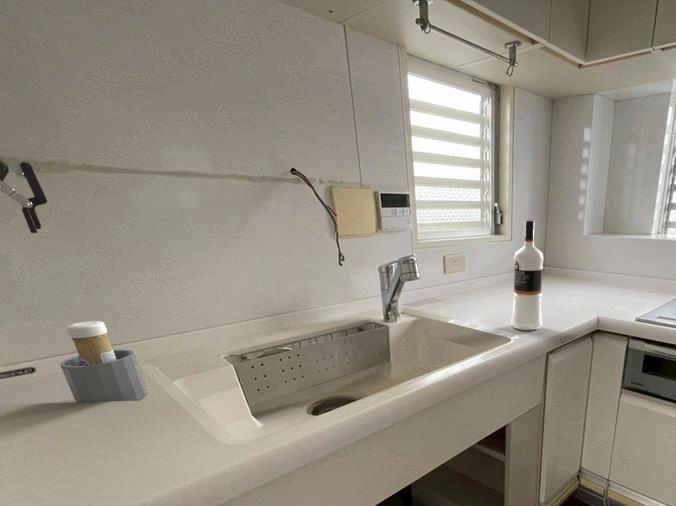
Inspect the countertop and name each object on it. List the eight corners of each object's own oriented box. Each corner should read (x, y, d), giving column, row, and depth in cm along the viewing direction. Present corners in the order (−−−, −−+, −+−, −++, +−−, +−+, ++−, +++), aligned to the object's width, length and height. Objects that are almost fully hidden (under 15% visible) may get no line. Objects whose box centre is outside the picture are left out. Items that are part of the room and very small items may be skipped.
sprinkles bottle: (88, 402, 70) (57, 326, 65) (113, 391, 74) (85, 320, 69) (113, 402, 70) (83, 327, 65) (136, 392, 74) (111, 320, 69)
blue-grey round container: (62, 412, 67) (43, 367, 64) (108, 390, 76) (92, 350, 73) (121, 410, 68) (104, 366, 65) (159, 389, 77) (146, 349, 74)
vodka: (546, 329, 118) (551, 220, 107) (516, 331, 116) (518, 220, 105) (535, 322, 126) (539, 220, 115) (507, 324, 124) (508, 220, 113)
